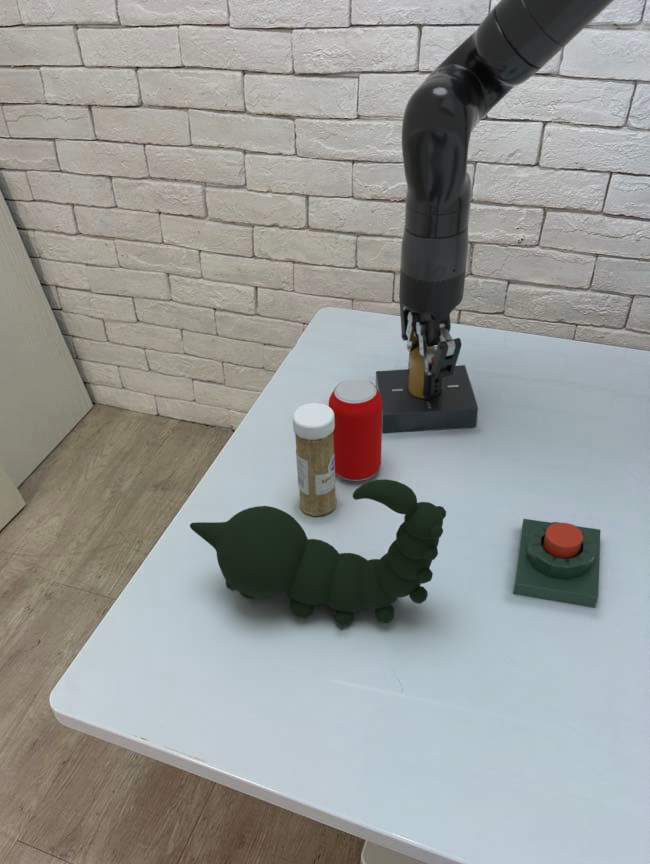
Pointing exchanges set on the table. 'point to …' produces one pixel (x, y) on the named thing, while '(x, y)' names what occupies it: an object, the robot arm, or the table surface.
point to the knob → (417, 372)
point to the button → (563, 540)
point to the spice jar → (315, 458)
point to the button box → (557, 567)
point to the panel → (426, 403)
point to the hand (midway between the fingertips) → (424, 385)
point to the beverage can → (357, 429)
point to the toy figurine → (328, 557)
